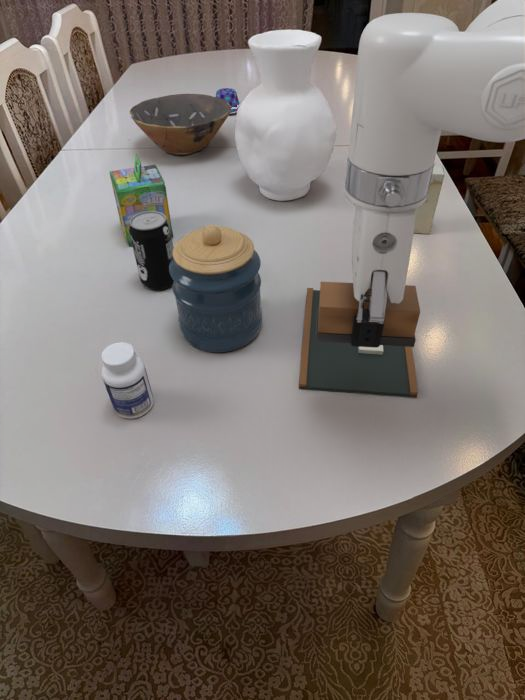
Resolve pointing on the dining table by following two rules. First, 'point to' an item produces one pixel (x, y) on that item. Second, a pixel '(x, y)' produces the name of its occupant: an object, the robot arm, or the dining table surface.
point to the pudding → (229, 97)
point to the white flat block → (371, 350)
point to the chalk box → (139, 193)
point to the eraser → (343, 306)
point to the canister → (217, 288)
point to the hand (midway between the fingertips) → (364, 326)
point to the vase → (284, 117)
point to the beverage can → (152, 248)
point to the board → (352, 363)
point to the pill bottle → (126, 380)
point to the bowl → (181, 121)
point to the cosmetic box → (429, 202)
